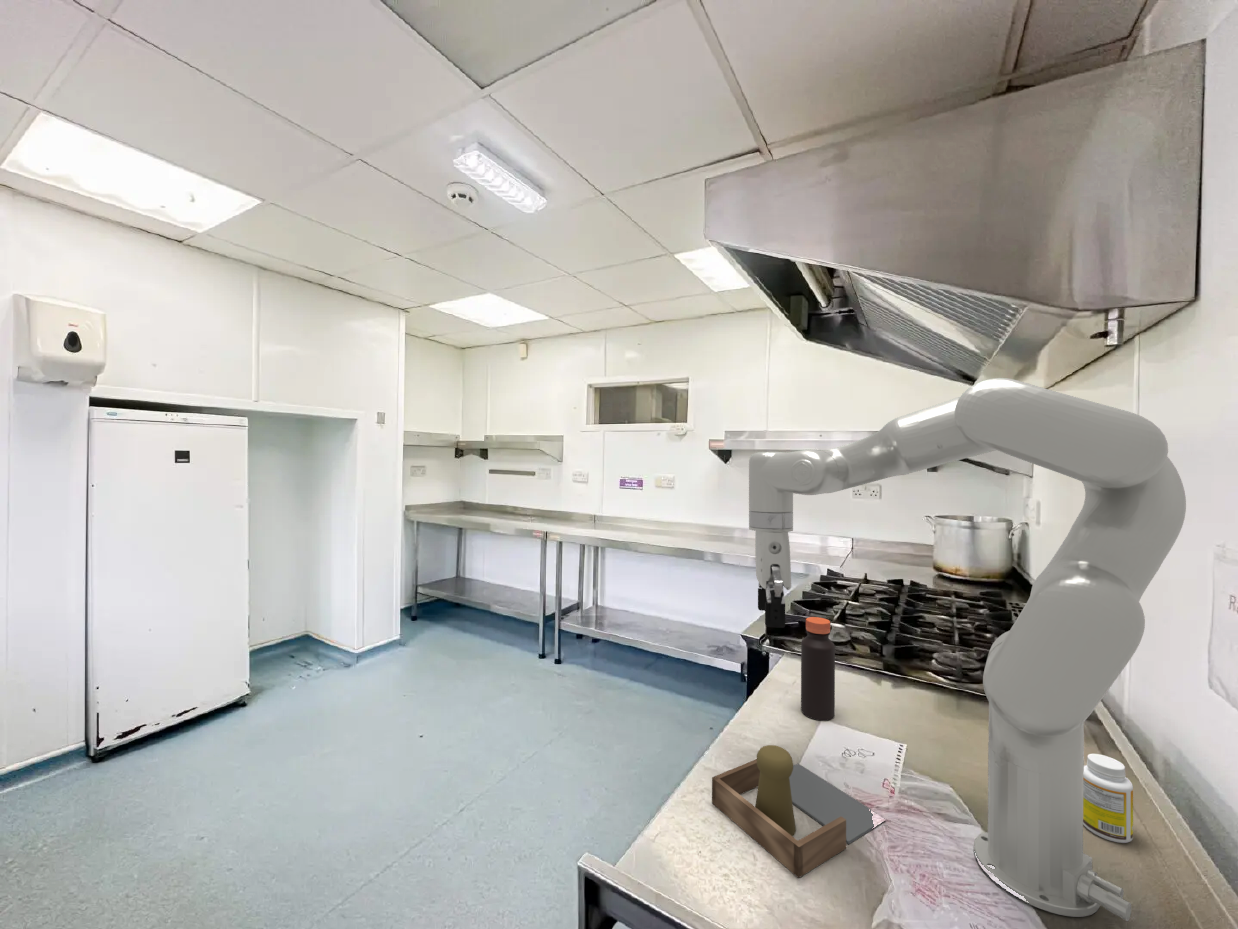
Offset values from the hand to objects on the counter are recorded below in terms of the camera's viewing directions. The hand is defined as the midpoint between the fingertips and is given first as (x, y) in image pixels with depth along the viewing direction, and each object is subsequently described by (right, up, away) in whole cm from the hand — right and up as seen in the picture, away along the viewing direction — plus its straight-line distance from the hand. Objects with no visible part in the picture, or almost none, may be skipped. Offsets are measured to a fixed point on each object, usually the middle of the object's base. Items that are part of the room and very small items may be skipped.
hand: (770, 618), depth 88 cm
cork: (-4, -26, -14) cm, 30 cm away
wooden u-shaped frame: (-3, -26, -14) cm, 30 cm away
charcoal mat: (+5, -26, -9) cm, 28 cm away
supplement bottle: (+44, -27, -15) cm, 54 cm away
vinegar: (+16, -27, +19) cm, 36 cm away
